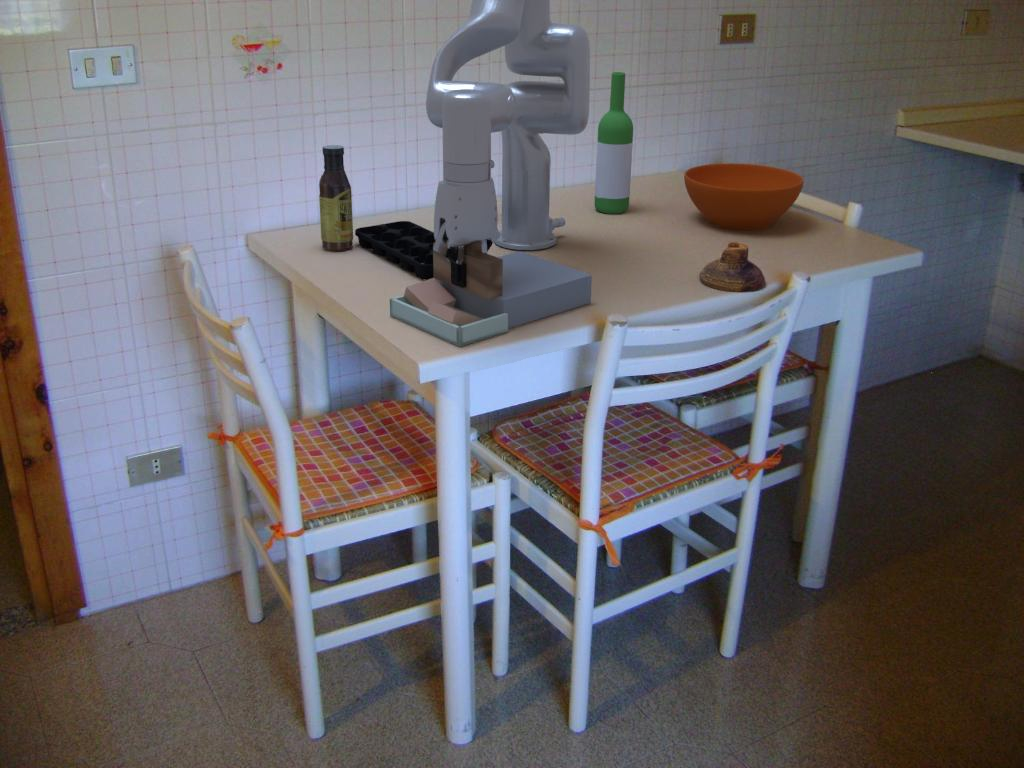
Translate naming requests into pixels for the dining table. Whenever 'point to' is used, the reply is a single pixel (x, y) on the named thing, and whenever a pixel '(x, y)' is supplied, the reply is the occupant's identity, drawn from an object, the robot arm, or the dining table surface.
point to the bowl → (742, 193)
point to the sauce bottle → (335, 202)
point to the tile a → (428, 294)
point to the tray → (448, 323)
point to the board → (528, 290)
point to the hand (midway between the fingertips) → (467, 282)
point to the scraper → (473, 271)
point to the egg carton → (401, 245)
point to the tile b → (452, 314)
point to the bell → (733, 271)
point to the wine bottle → (614, 153)
